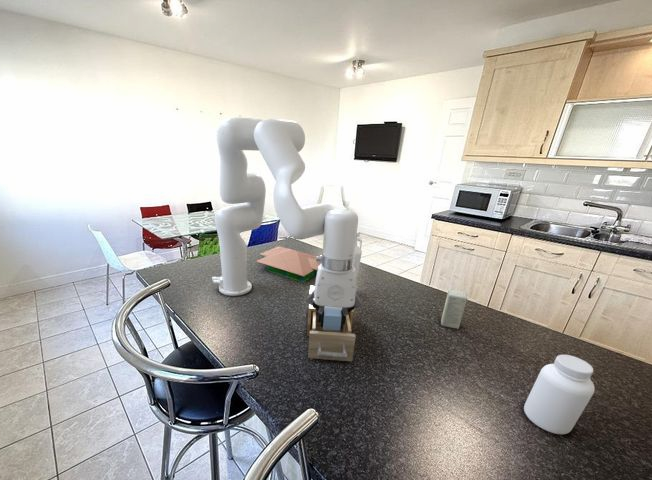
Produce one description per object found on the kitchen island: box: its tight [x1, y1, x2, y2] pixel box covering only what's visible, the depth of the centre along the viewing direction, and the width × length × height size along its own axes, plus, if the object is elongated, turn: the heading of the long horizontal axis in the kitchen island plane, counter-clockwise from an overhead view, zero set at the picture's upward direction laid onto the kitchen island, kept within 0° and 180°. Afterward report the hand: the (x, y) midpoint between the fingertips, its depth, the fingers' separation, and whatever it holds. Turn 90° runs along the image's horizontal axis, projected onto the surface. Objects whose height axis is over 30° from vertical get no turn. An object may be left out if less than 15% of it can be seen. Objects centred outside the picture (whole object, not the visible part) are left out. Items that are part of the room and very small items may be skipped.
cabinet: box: [306, 285, 355, 337], centre depth 91 cm, size 15×13×10 cm
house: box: [255, 245, 321, 283], centre depth 133 cm, size 23×33×8 cm
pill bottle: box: [523, 354, 595, 435], centre depth 59 cm, size 8×8×15 cm
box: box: [440, 289, 468, 330], centre depth 92 cm, size 5×4×11 cm
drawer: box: [307, 311, 357, 362], centre depth 79 cm, size 18×11×8 cm, turn 174°
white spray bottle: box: [353, 230, 363, 291], centre depth 105 cm, size 7×12×25 cm, turn 131°
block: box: [323, 307, 342, 331], centre depth 78 cm, size 4×4×4 cm
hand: (331, 324), depth 79 cm, fingers closed on block, 4 cm apart
